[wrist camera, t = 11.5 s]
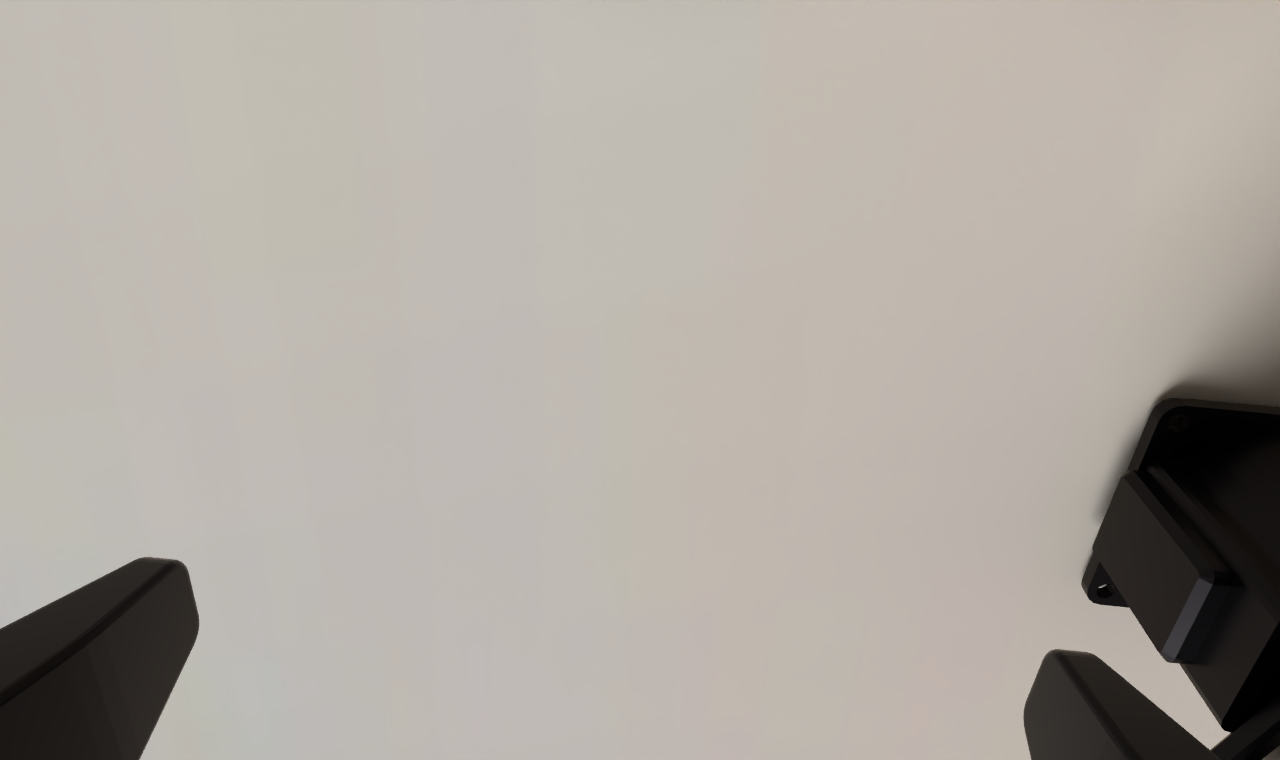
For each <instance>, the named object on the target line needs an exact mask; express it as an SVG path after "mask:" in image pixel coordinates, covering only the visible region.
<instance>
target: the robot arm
mask: <svg viewBox="0 0 1280 760" xmlns="http://www.w3.org/2000/svg"><path fill="white" fill-rule="evenodd" d="M1180 414H1181V417H1180V418H1179V419H1178V421H1176V422H1174V423H1171V424H1168V422H1169V420H1170V419H1171V418H1172V417H1174V416H1176V415H1180ZM1093 551H1094V552H1093V555H1092V557H1091V559H1090V562H1089V564H1088V567H1087V569H1086V572H1085V574H1084V576H1083V579H1082V584H1081V585H1082V588H1083V590H1084V592H1085V593H1086V595H1087V597H1088V598H1089V600H1091V601H1092V602H1093V603H1096V604H1100V605H1110V606H1120V607H1130V609H1131V610H1132V612H1133V613H1134V615H1135V616H1136V618H1137V620H1138V621H1139V623H1140V624H1141V626H1142V627H1143V629H1144V630H1145V632H1146V634H1147V635H1148V637H1149V638H1150V640H1151V641H1152V643H1153V644H1154V646H1155V647H1156V649H1157V651H1158V652H1159V653H1160V655H1161V656H1162V657H1163V658H1164V659H1165V660H1166V661H1167V662H1170V663H1179V664H1180V665H1181V667H1182V668H1183V670H1184V671H1185V673H1186V674H1187V676H1188V677H1189V679H1190V680H1191V682H1192V683H1193V685H1194V686H1195V688H1196V689H1197V691H1198V692H1199V694H1200V695H1201V697H1202V698H1203V700H1204V701H1205V703H1206V704H1207V706H1208V707H1209V709H1210V710H1211V712H1212V713H1213V715H1214V716H1215V718H1216V720H1217V721H1218V723H1219V724H1220V726H1221V727H1222V728H1223V729H1224V730H1225V731H1228V732H1231V733H1230V734H1229V735H1228V736H1227V737H1225V738H1224V739H1223V740H1222V741H1220V742H1219V743H1218V744H1217V745H1216V746H1214V747H1213V748H1212V749H1211V750H1209V749H1208V748H1207V747H1205V746H1204V745H1203V744H1202V743H1201V742H1199V741H1198V740H1197V739H1196V738H1195V737H1193V736H1192V735H1191V734H1190V733H1189V732H1187V731H1186V730H1185V729H1184V728H1183V727H1181V726H1180V725H1179V724H1178V723H1177V722H1175V721H1174V720H1173V719H1172V718H1171V717H1169V716H1168V715H1167V714H1166V713H1165V712H1163V711H1162V710H1161V709H1160V708H1159V707H1157V706H1156V705H1155V704H1154V703H1153V702H1151V701H1150V700H1149V699H1148V698H1147V697H1145V696H1144V695H1143V694H1142V693H1141V692H1139V691H1138V690H1137V689H1136V688H1135V687H1133V686H1132V685H1131V684H1130V683H1129V682H1127V681H1126V680H1125V679H1124V678H1123V677H1121V676H1120V675H1119V674H1118V673H1117V672H1115V671H1114V670H1113V669H1112V668H1111V667H1109V666H1108V665H1107V664H1106V663H1105V662H1103V661H1102V660H1101V659H1100V658H1098V657H1097V656H1095V655H1093V654H1091V653H1087V652H1080V651H1070V650H1060V649H1056V650H1051V651H1050V652H1048V653H1047V654H1046V655H1045V657H1044V659H1043V661H1042V664H1041V666H1040V668H1039V671H1038V673H1037V676H1036V678H1035V681H1034V683H1033V686H1032V688H1031V691H1030V693H1029V695H1028V698H1027V700H1026V704H1025V708H1024V728H1025V733H1026V737H1027V742H1028V746H1029V751H1030V756H1031V760H1280V408H1278V407H1268V406H1257V405H1246V404H1236V403H1225V402H1215V401H1204V400H1193V399H1183V398H1172V399H1168V400H1165V401H1162V402H1161V403H1159V404H1158V405H1157V406H1156V407H1155V408H1154V409H1153V411H1152V412H1151V414H1150V417H1149V419H1148V421H1147V424H1146V426H1145V429H1144V431H1143V434H1142V436H1141V438H1140V441H1139V443H1138V446H1137V448H1136V450H1135V453H1134V455H1133V458H1132V460H1131V463H1130V465H1129V467H1128V470H1127V472H1126V473H1125V474H1124V475H1123V476H1122V477H1121V479H1120V481H1119V483H1118V486H1117V488H1116V491H1115V493H1114V496H1113V498H1112V500H1111V503H1110V505H1109V508H1108V510H1107V513H1106V515H1105V518H1104V520H1103V522H1102V525H1101V527H1100V530H1099V532H1098V535H1097V537H1096V539H1095V542H1094V544H1093ZM1104 584H1107V585H1106V586H1105V587H1103V588H1099V587H1100V586H1102V585H1104ZM198 630H199V615H198V611H197V607H196V602H195V598H194V594H193V590H192V585H191V581H190V577H189V573H188V570H187V567H186V566H185V565H184V564H183V563H182V562H180V561H178V560H173V559H163V558H153V557H143V558H139V559H137V560H134V561H132V562H130V563H128V564H126V565H124V566H122V567H121V568H119V569H117V570H115V571H113V572H111V573H109V574H107V575H105V576H103V577H101V578H99V579H97V580H95V581H93V582H91V583H89V584H87V585H85V586H83V587H81V588H79V589H77V590H75V591H74V592H72V593H70V594H68V595H66V596H64V597H62V598H60V599H58V600H56V601H54V602H52V603H50V604H48V605H46V606H44V607H42V608H40V609H38V610H36V611H34V612H32V613H30V614H28V615H26V616H25V617H23V618H21V619H19V620H17V621H15V622H13V623H11V624H9V625H7V626H5V627H3V628H1V629H0V760H139V759H140V757H141V755H142V753H143V751H144V749H145V747H146V745H147V743H148V741H149V739H150V736H151V734H152V732H153V730H154V728H155V726H156V724H157V722H158V720H159V717H160V715H161V713H162V711H163V709H164V707H165V705H166V703H167V701H168V698H169V696H170V694H171V692H172V690H173V688H174V686H175V684H176V682H177V679H178V677H179V675H180V673H181V671H182V669H183V667H184V665H185V663H186V660H187V658H188V656H189V654H190V652H191V650H192V648H193V646H194V643H195V641H196V638H197V635H198Z"/></svg>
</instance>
